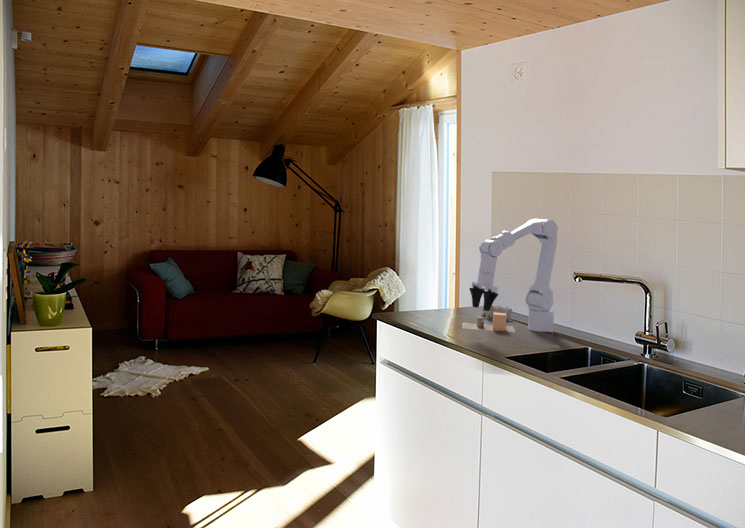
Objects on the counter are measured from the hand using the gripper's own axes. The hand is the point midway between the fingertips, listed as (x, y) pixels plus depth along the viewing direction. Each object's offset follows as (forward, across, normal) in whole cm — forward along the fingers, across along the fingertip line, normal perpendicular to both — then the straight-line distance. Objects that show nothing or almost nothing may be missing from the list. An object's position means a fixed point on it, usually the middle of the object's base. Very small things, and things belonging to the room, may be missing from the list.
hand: (480, 308), depth 237 cm
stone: (+7, -25, +25) cm, 36 cm away
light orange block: (+8, -6, +13) cm, 16 cm away
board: (+9, -9, +11) cm, 17 cm away
